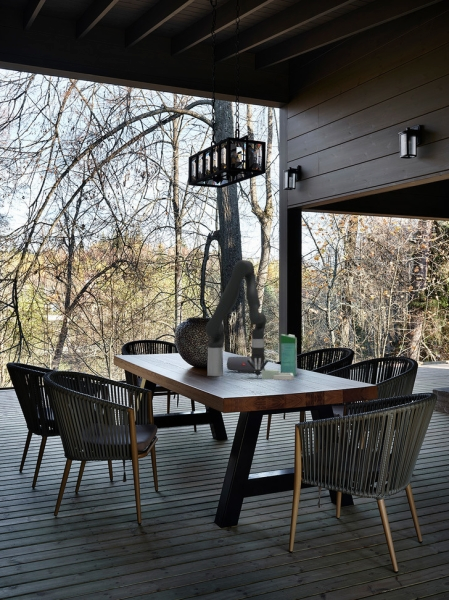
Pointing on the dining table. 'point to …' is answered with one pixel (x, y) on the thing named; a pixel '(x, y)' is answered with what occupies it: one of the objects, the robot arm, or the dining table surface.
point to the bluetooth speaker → (241, 364)
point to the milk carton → (288, 354)
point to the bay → (284, 376)
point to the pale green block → (269, 374)
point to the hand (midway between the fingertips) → (257, 375)
